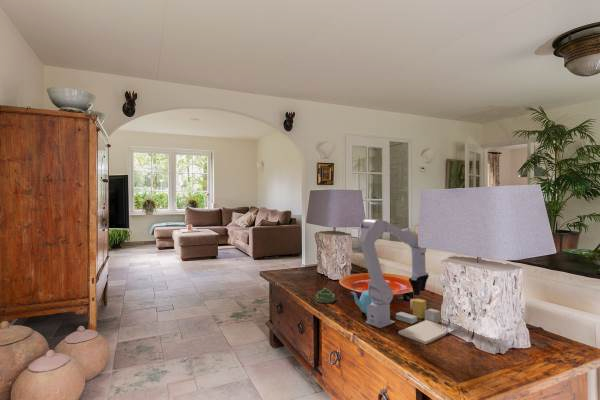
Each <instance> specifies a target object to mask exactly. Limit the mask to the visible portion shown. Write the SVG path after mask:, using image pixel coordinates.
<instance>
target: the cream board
mask: <svg viewBox="0 0 600 400" xmlns="http://www.w3.org/2000/svg"><path fill="white" fill-rule="evenodd" d="M441 325H442V324H440V323H434V322H431V321H428V320H425V319H424V320H423V321H421V322H417V323H416V324H415V323H414V325H413V324H412V325H411V326H409V327H406V328H403V329H401V330H398V332H397V333H398V335H401V336H402V337H405V338H409V339H410V340H413V341H416V342H419V343H421V344H424V345H427V344H429V343H432V342H434V341H436V340H438V339H440V338H442V337H444V336H446V334H447V333H448V331H445V330H443V329H442V327H441ZM447 335H448V334H447Z"/></svg>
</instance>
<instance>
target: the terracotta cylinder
mask: <svg viewBox="0 0 600 400" xmlns="http://www.w3.org/2000/svg"><path fill="white" fill-rule="evenodd" d="M415 299H416V298H413V299H410V304H409V305H410V310H412V311H413V300H415Z"/></svg>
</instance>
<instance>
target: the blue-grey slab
mask: <svg viewBox="0 0 600 400" xmlns="http://www.w3.org/2000/svg"><path fill="white" fill-rule="evenodd" d="M395 319H396V320H398V321H401V322H405V323H406V324H407V323H408V324H411V325H413V324H415V323H418V318H417V316H414V315H413V314H411V313H407V312H403V311H399V312H396V313H395Z"/></svg>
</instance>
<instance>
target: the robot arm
mask: <svg viewBox="0 0 600 400" xmlns="http://www.w3.org/2000/svg"><path fill="white" fill-rule="evenodd" d="M359 229H360V236H359V244H360V248H361V252H362V255H363V258H364V262H365V265H366V269H367V273H368V276H369V280H370V281H369V282H368V283H367V285H368V289H367V290H368V293H369V296H370V297H371V300H372V303H371V304H370V305H368V307H367V316H366V318H367V319H366V320H365V323H366V324H368V325H371V326H374V327H376V328H378V329H382V328H385V327H386V326H387V327H388V326H389V325H392V324H395V322H396V321H394V320H392V319H391V308H390V307H391V306H390V305H391V302H392V301H393V298H394V291H393V290H392V288H390V285H389V283H388V282H387V280H386V279H385V278H384V274H383V271H382V268H381V264H380V260H379V257H378V254H377V250H376V245H375V244H376V241H377V240H379V239H380V238H381V237H382V235H383V234H385V233H388V234H391V235H393V236H395V237H397V238H398V240H399V241H400V242H401V243H404V244H406V245H408V247H410V248H411V276H410V278H408V282H409V283H410V285H411V289H412V292H413V296H420V294H421V292H425V290H426V285H427V280H428V279H429V277H430V275H429V272H427V270H426V269H427V268H426V252H427V248H421V247H419V246H418V236H419V234H418V233H417V232H413V231H411V229H410V228H407V227H406V228H402V229H401V228H399V227H398V226H395V225H394V224H392V223H390V222H388V221H386V220H383V219H375V218H374V219H373V218H364V219H363V220H362V221H361V223H360V225H359Z"/></svg>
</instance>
